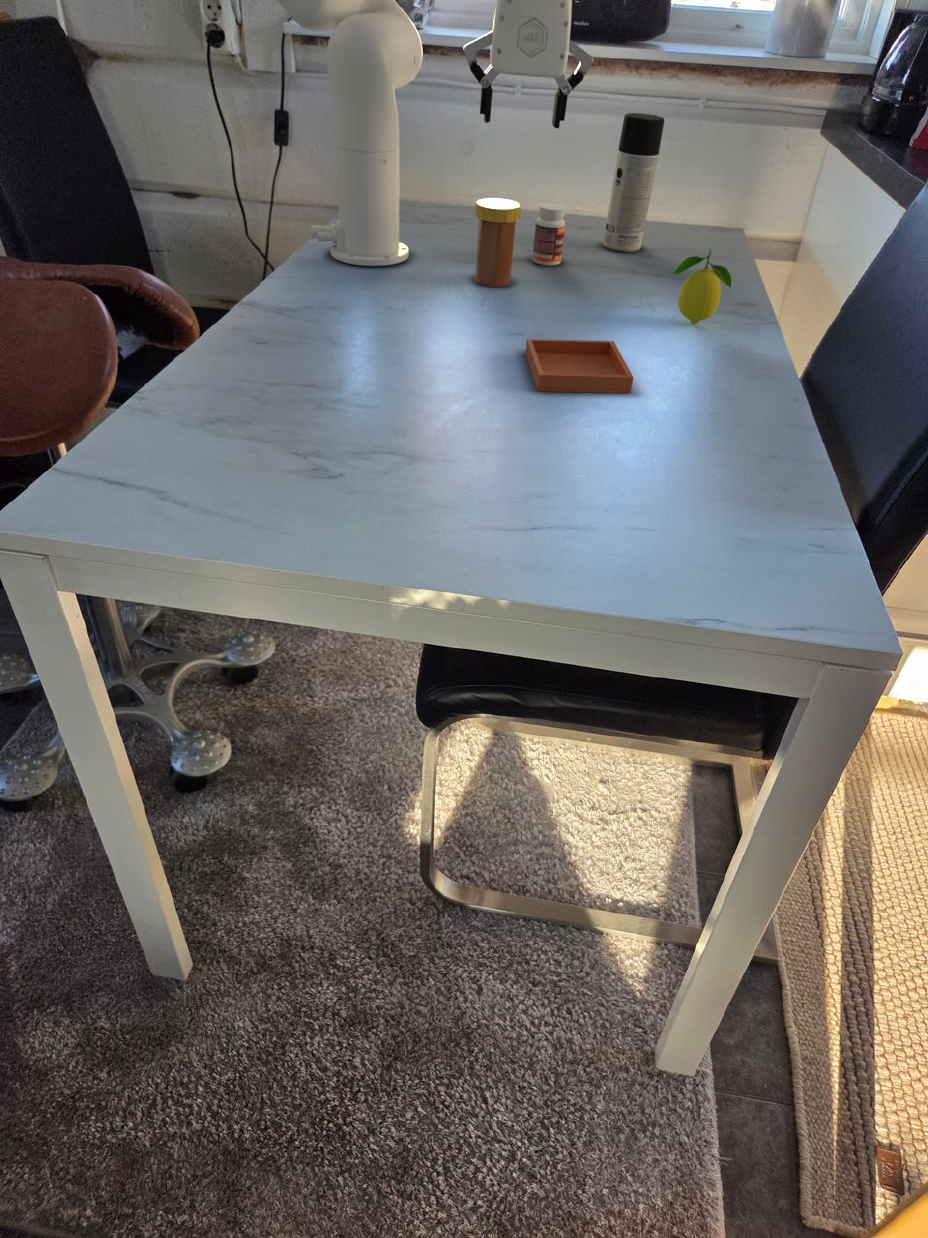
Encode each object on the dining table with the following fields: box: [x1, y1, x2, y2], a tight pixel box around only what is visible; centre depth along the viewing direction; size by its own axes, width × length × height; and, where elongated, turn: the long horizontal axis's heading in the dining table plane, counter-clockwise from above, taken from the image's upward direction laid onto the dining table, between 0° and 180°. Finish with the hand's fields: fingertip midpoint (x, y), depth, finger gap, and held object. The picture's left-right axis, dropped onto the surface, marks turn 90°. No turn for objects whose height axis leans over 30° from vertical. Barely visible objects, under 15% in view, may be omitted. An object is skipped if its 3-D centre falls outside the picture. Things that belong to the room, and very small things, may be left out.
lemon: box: [672, 249, 732, 325], centre depth 114 cm, size 7×6×10 cm
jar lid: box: [475, 197, 521, 223], centre depth 121 cm, size 6×6×2 cm
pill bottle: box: [531, 203, 566, 267], centre depth 134 cm, size 5×5×8 cm
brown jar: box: [474, 218, 517, 288], centre depth 124 cm, size 5×5×11 cm
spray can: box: [603, 112, 665, 253], centre depth 139 cm, size 7×7×20 cm
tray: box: [524, 338, 634, 394], centre depth 101 cm, size 11×11×2 cm
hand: (521, 123), depth 115 cm, fingers open, 9 cm apart
